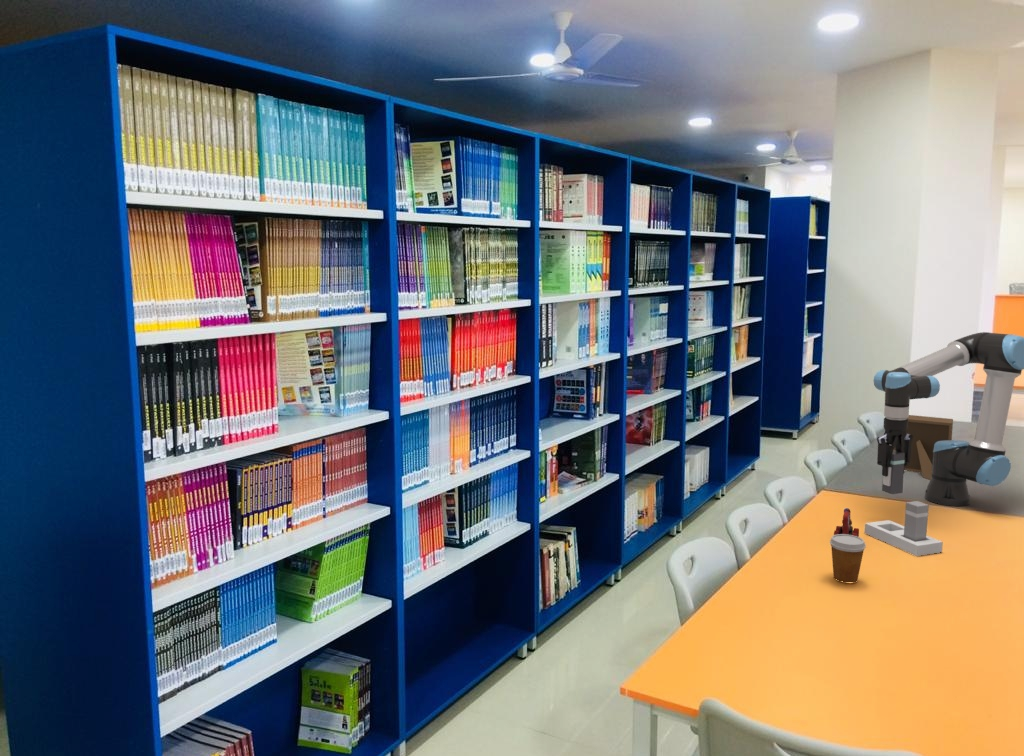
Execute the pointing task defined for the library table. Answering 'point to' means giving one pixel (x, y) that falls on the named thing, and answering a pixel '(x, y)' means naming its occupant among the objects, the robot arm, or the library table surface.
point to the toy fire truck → (846, 525)
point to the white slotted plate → (902, 538)
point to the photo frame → (926, 441)
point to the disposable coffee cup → (846, 556)
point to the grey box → (895, 474)
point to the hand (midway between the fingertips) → (892, 484)
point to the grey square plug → (916, 521)
